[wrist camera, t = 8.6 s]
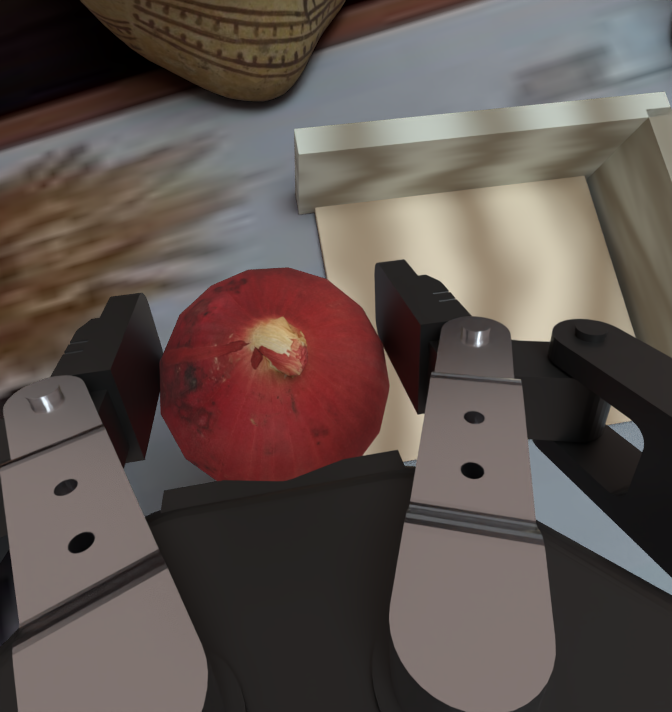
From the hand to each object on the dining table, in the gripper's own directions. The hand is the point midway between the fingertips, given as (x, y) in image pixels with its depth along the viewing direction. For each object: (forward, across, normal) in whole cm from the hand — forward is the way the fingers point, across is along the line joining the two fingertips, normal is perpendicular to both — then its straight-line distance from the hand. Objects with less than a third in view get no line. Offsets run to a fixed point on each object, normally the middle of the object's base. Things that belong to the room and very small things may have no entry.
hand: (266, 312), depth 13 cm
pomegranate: (+2, 0, +4) cm, 5 cm away
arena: (+14, -13, +8) cm, 21 cm away
